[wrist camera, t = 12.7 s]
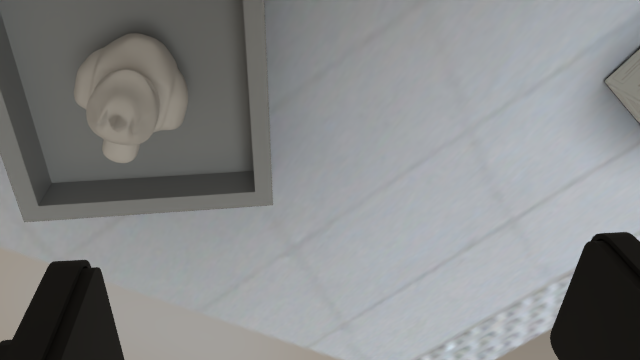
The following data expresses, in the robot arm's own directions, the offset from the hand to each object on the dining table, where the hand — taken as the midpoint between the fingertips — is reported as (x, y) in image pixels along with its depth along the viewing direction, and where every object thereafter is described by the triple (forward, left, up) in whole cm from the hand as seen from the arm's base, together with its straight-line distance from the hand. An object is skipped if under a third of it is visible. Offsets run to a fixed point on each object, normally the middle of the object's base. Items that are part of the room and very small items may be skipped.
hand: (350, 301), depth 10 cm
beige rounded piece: (+3, -8, -21) cm, 23 cm away
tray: (+3, -8, -22) cm, 23 cm away
